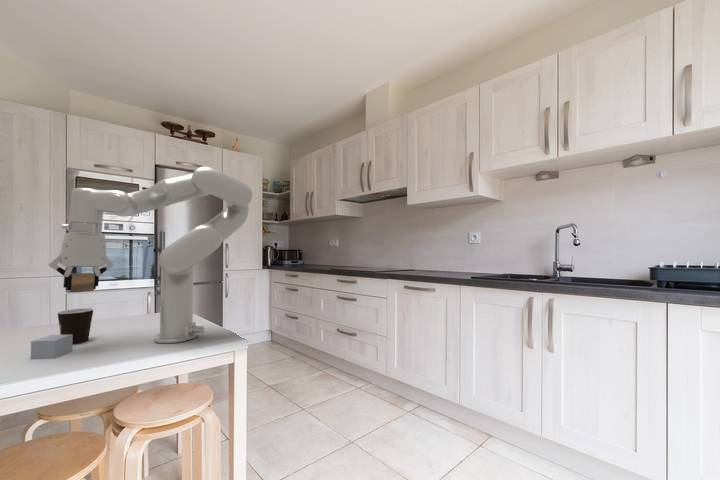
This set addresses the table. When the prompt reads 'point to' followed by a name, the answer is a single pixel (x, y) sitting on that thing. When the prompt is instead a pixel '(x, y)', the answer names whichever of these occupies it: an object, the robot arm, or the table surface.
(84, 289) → the walnut block
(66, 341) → the slate block
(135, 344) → the table surface
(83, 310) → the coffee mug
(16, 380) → the table surface
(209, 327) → the table surface
